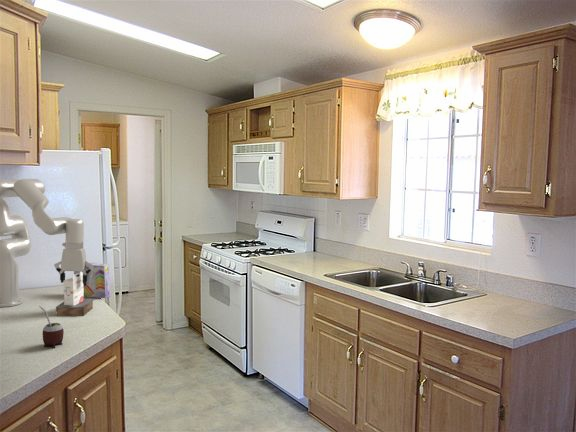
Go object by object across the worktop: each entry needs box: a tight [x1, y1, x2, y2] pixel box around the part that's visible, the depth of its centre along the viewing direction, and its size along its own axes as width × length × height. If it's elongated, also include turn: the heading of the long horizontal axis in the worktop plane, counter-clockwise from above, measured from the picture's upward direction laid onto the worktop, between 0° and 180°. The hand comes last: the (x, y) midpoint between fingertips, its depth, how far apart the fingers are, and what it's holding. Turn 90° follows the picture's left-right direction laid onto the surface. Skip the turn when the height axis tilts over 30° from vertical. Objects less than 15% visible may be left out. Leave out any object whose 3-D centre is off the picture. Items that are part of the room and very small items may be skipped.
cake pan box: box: [73, 262, 111, 299], centre depth 245 cm, size 19×5×18 cm, turn 77°
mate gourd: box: [38, 305, 65, 349], centre depth 176 cm, size 8×8×15 cm
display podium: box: [55, 299, 94, 317], centre depth 219 cm, size 12×12×4 cm
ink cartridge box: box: [63, 271, 85, 306], centre depth 218 cm, size 9×5×15 cm, turn 173°
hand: (73, 282), depth 218 cm, fingers open, 9 cm apart
